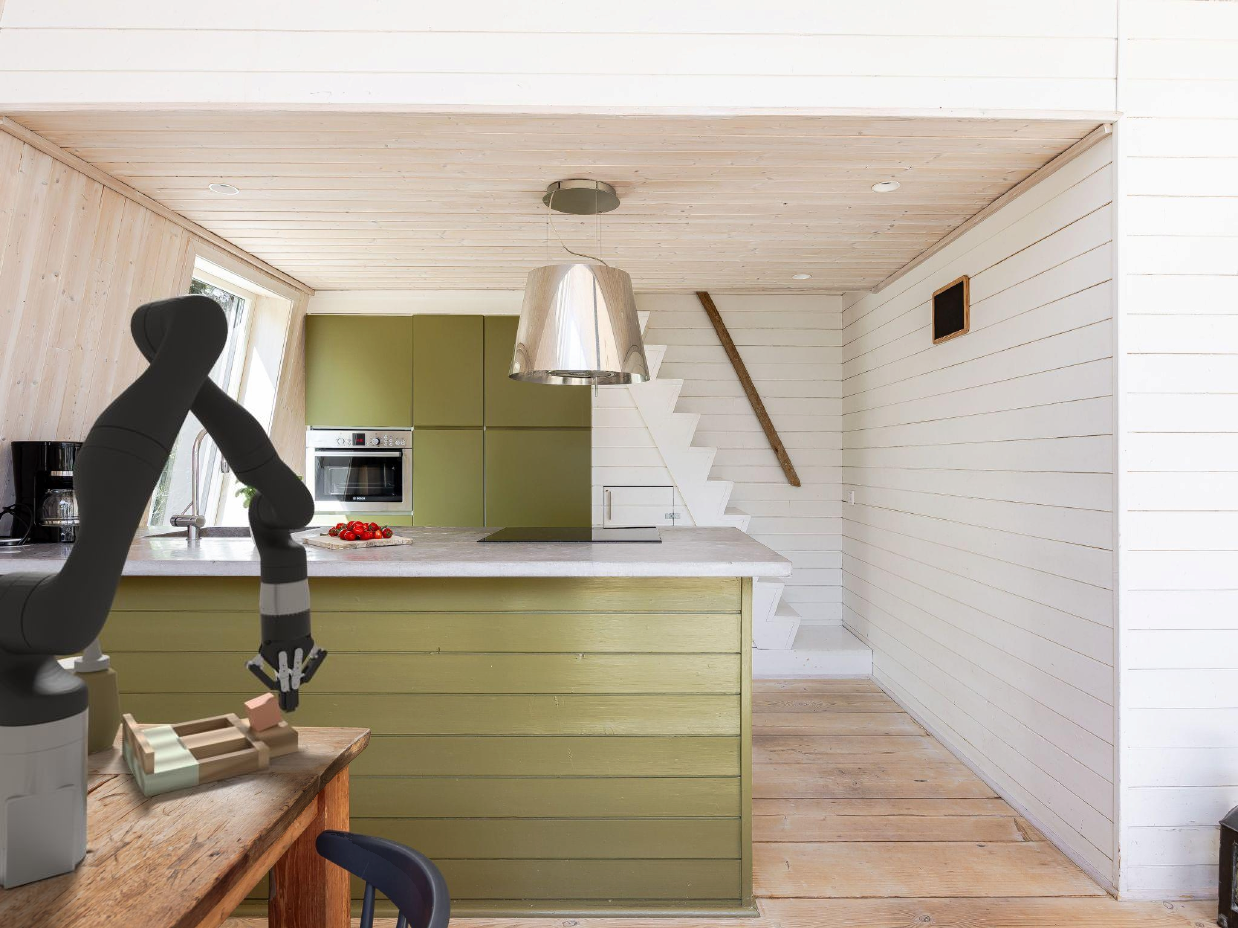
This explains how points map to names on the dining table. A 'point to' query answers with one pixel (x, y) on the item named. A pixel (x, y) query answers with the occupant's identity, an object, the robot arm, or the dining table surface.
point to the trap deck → (200, 751)
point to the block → (263, 712)
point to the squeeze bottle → (99, 697)
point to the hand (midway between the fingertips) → (289, 710)
